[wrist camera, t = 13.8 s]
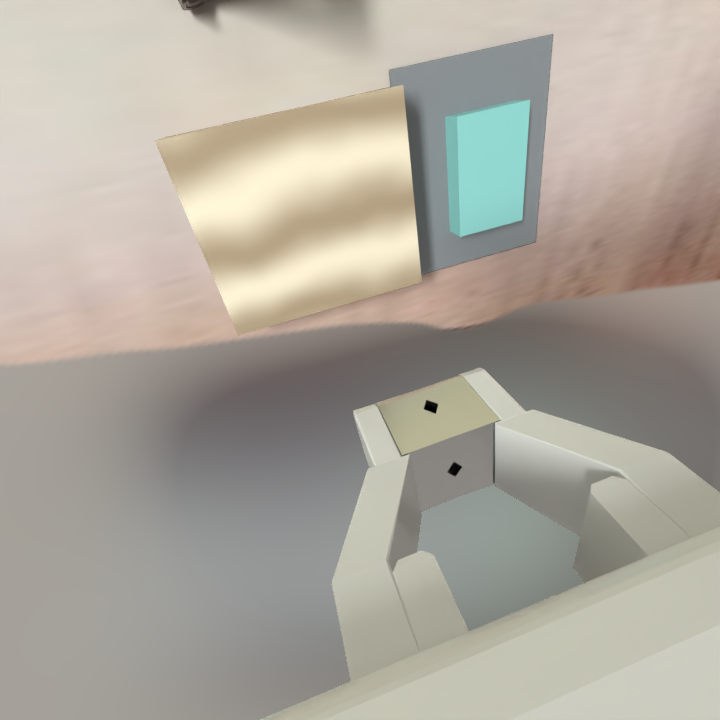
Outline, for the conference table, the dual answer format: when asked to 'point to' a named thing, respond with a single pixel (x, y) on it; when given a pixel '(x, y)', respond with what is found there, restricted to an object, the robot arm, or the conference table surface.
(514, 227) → the mat
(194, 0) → the portable electronic device stand
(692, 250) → the conference table surface
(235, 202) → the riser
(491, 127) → the turquoise rectangular block
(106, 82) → the conference table surface
